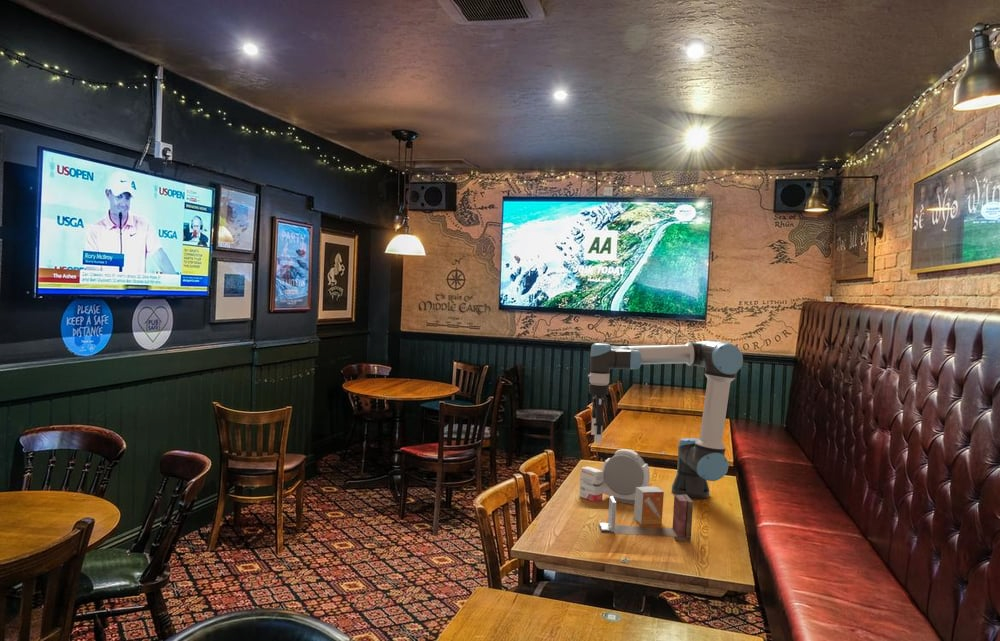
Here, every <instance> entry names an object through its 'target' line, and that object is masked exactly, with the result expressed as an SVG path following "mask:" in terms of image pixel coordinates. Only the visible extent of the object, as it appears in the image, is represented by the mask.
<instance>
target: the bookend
mask: <svg viewBox="0 0 1000 641" xmlns="http://www.w3.org/2000/svg"><path fill="white" fill-rule="evenodd" d="M608 500H609V502H608V518H607V519H608V520H607V522H599V524H600V527H601V530H602V531H611V532H615V525H616V513H617V501H615V499H614V497H613V496H610V497H609V499H608Z"/></svg>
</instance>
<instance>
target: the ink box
mask: <svg viewBox="0 0 1000 641" xmlns="http://www.w3.org/2000/svg"><path fill="white" fill-rule="evenodd" d="M603 474H604V471H602V469H601V470H600V469H598V468H595V467H591V466H582V467H580V480H579V492H578V493H579V497H580V498H583V499H586V500H588V501H591V502H594V503H596V502H600V501H603V494H604V493H603Z"/></svg>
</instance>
